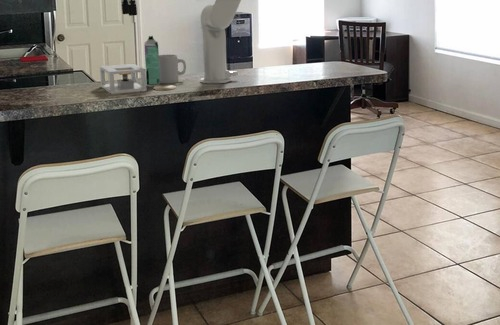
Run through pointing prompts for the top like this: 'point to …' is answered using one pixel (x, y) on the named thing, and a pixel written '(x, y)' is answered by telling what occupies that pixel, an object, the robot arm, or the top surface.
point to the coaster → (164, 87)
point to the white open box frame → (122, 85)
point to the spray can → (152, 62)
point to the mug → (170, 68)
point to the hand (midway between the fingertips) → (129, 14)
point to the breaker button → (125, 76)
